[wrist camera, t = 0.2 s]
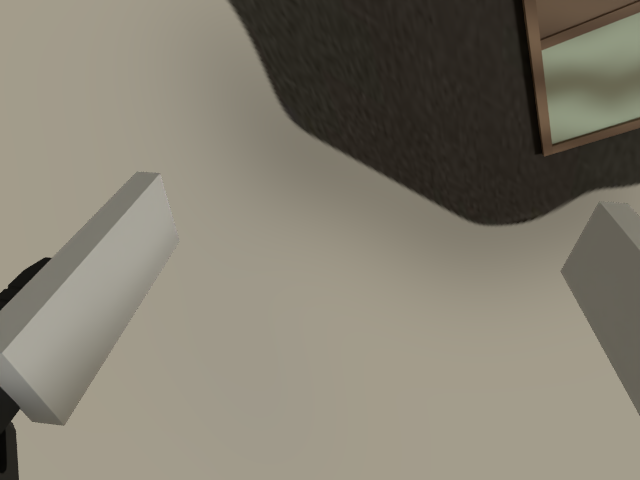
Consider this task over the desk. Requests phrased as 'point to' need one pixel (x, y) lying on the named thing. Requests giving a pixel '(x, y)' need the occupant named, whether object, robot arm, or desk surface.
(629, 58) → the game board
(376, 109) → the desk surface
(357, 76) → the desk surface
